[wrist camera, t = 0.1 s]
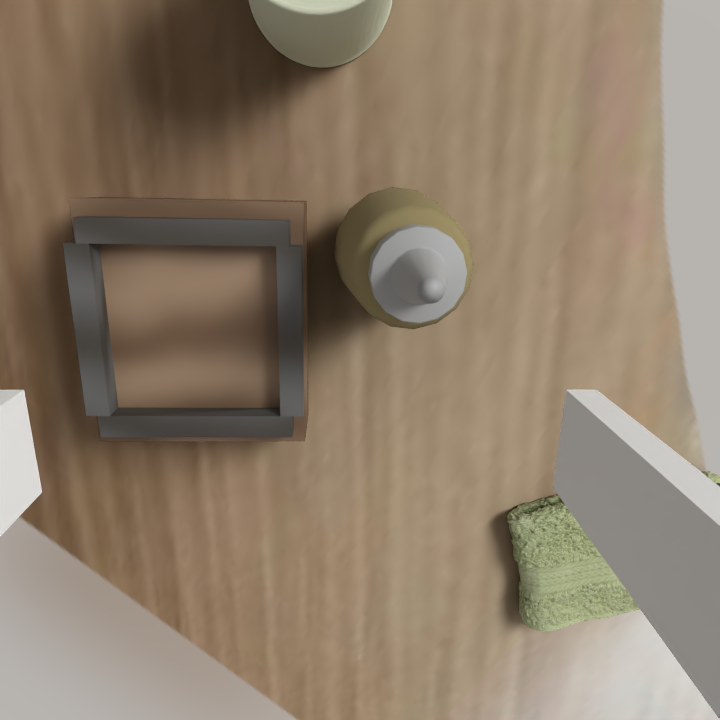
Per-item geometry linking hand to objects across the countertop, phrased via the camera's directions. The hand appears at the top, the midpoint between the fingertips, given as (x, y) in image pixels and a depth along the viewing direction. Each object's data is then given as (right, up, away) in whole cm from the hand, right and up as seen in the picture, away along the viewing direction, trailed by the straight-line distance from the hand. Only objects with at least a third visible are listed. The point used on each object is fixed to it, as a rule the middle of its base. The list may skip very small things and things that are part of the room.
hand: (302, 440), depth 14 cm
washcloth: (+23, -14, +35) cm, 44 cm away
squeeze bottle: (+4, +10, +26) cm, 29 cm away
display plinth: (-9, +5, +27) cm, 29 cm away
